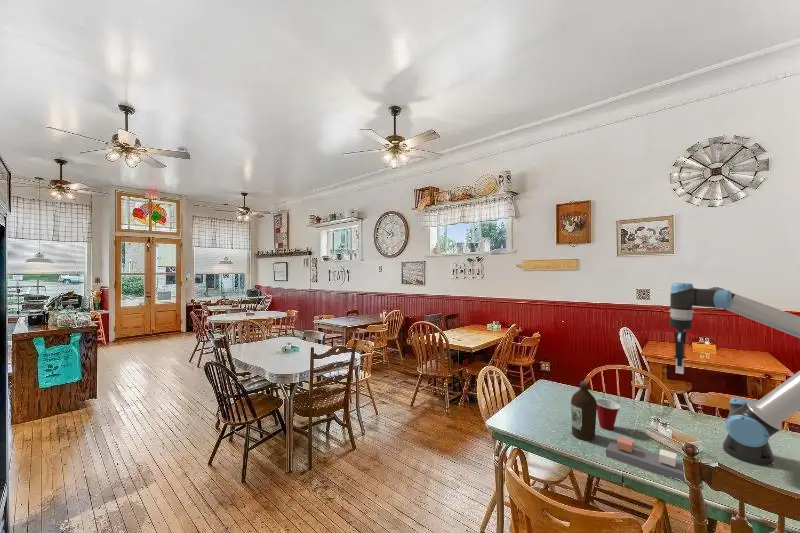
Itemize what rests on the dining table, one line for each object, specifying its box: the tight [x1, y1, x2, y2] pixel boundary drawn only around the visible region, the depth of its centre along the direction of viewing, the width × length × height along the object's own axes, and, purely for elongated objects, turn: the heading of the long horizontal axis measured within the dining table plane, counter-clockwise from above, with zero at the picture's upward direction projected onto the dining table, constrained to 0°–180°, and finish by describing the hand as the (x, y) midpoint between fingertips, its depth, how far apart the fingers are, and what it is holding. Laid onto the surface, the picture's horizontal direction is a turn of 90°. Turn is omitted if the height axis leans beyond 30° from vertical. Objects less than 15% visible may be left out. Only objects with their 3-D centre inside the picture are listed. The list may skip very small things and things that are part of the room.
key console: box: [605, 439, 686, 484], centre depth 141 cm, size 26×10×3 cm, turn 47°
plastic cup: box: [595, 398, 621, 431], centre depth 171 cm, size 11×11×12 cm
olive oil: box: [570, 380, 598, 442], centre depth 163 cm, size 11×11×25 cm
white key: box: [658, 448, 678, 467], centre depth 136 cm, size 5×5×3 cm
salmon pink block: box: [616, 436, 635, 453], centre depth 146 cm, size 5×5×3 cm
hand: (679, 373), depth 153 cm, fingers closed
